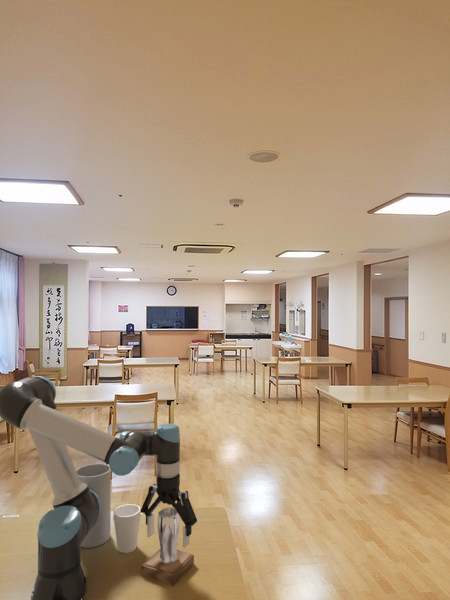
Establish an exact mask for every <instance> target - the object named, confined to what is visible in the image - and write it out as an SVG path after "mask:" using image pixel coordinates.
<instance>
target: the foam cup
mask: <svg viewBox="0 0 450 600" xmlns="http://www.w3.org/2000/svg"><path fill="white" fill-rule="evenodd" d="M140 510H141V506H139V505H137V504H134V503H130V504H129V503H127V504H122V505H120V506H118V507H116V508H114V509H113V522H114V530H115V536H116V545H117V547H116V548H117V551H118V552H119V553H123V554H127V553H129V554H130V553H132V552H133V551H135V550H136V548H137V542H138V535H139V530H140V528H139V527H140V520H141V515H142V514H141V511H140Z"/></svg>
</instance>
